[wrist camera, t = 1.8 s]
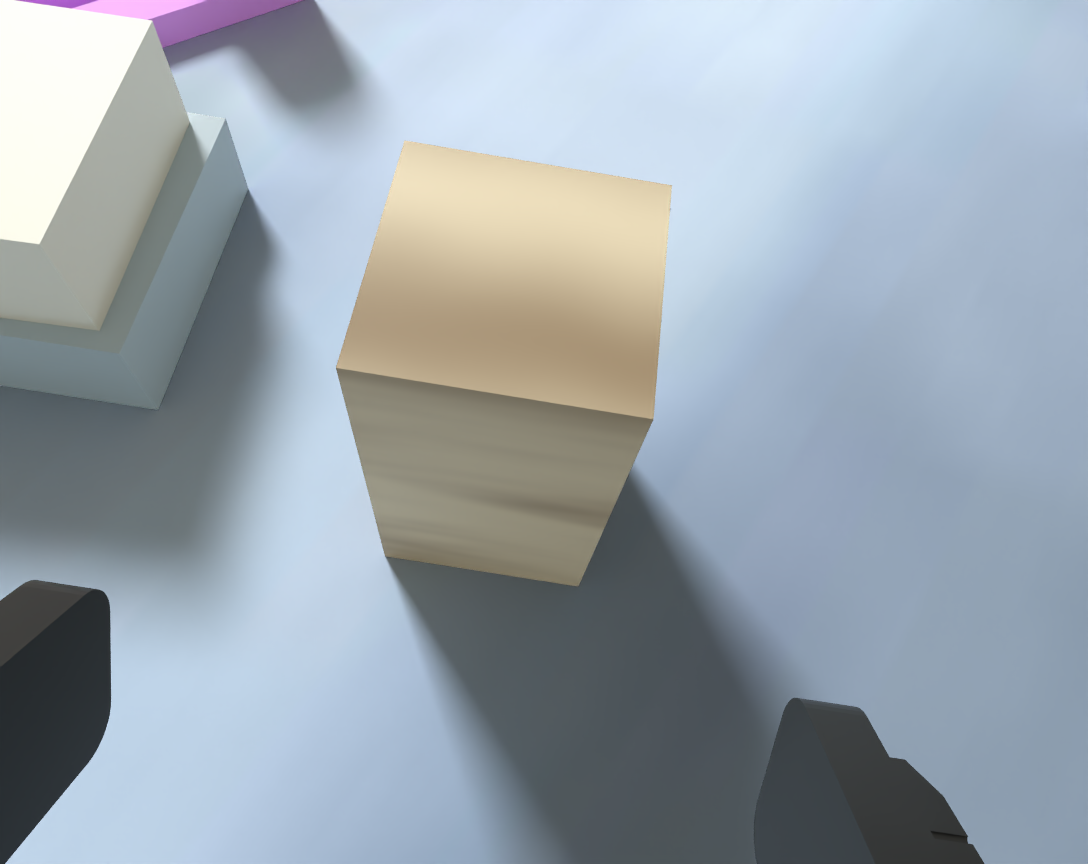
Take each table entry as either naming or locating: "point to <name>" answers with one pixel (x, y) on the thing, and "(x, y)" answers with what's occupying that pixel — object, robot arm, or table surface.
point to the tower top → (78, 156)
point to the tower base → (143, 288)
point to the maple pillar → (504, 358)
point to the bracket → (177, 13)
